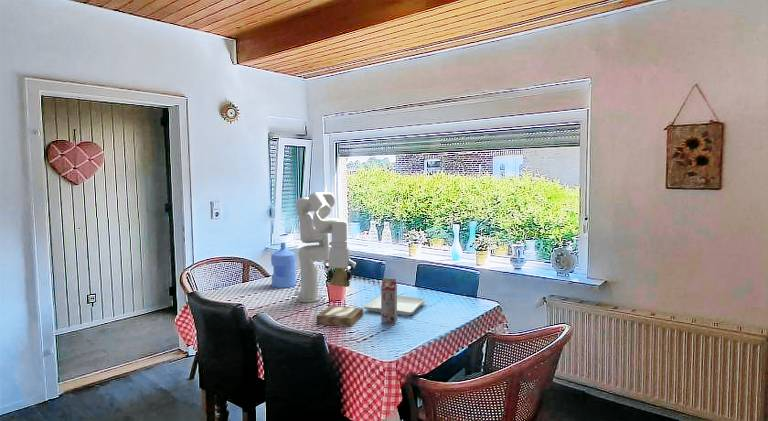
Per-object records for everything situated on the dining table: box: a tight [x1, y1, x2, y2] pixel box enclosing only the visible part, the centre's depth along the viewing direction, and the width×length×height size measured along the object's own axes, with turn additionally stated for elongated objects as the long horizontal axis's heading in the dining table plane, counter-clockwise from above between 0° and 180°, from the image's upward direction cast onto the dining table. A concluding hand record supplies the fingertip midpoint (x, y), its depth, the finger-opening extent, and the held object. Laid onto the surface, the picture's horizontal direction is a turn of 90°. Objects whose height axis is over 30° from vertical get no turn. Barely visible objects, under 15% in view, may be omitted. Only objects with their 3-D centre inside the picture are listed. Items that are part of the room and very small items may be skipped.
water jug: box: [270, 242, 297, 289], centre depth 313 cm, size 16×16×28 cm
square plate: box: [363, 294, 427, 316], centre depth 261 cm, size 27×27×4 cm
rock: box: [329, 268, 350, 288], centre depth 240 cm, size 11×9×10 cm
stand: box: [315, 305, 364, 327], centre depth 241 cm, size 18×18×4 cm
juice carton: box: [380, 277, 398, 326], centre depth 235 cm, size 7×7×22 cm
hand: (339, 279), depth 240 cm, fingers closed on rock, 9 cm apart
